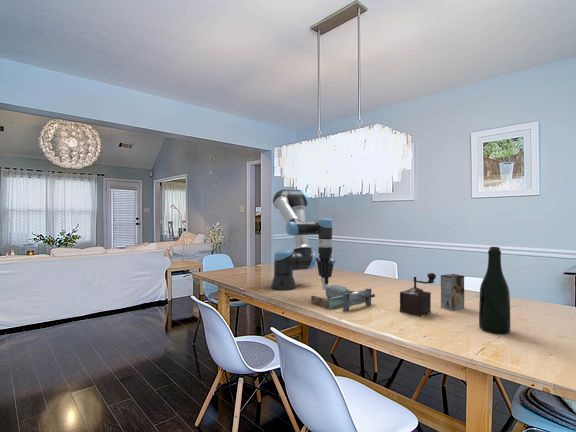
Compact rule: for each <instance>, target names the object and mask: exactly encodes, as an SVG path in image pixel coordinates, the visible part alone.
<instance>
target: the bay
mask: <svg viewBox="0 0 576 432" xmlns="http://www.w3.org/2000/svg"><path fill="white" fill-rule="evenodd" d="M348 290H349V289H348ZM349 292H350V293H353V292H355V291H354V290H349ZM310 298H311V304H313V305H317V306H319V307H323V308H325V309H329V310H333V309H337V308H343V296H338V297H333V298H329V299H325V298H323V297H320V296H316V295H311V297H310ZM363 302H365V298H361V299H357V300H352V301H349V306H350V305H354V304H359V303H363Z"/></svg>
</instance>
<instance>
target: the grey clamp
mask: <svg viewBox="0 0 576 432" xmlns="http://www.w3.org/2000/svg"><path fill="white" fill-rule="evenodd" d="M375 297H376V294H375V293H372V288H365V289H363V290H359V291H354V292H353V293H344V294H343V306H342V310H343V312H349V311H350V305H349V301H352V300H357V299H361V298H365V301H364V303H365V306H368V307H369V306H371V305H372V298H375Z"/></svg>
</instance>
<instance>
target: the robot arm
mask: <svg viewBox="0 0 576 432" xmlns="http://www.w3.org/2000/svg"><path fill="white" fill-rule="evenodd" d="M309 202H310V200H309V195H308V193H307V191H305V190H303V189H280V190H278V191H277V192H275V194H274V196H273V199H272V203H273V206H274V208H275V209H277V211H279V213H280V215H281V217H282V218H283V220H284V222H285V223H286V225H285V231H286V234H287V235H289V236H293V237H294V244H295V247H294V248H293V249H281V250H278V251H276V252H275V253H274V257H273V261H274V263H273V266H274V267H273V269H274V270H273V273H274V274H273V278H272V281H271V286H270V287H271V289H272V290H277V291H291V290H294V289H296V282H295V278H294V275H293V274H294V272H293V271H302V270H303V271H305V270H312V269H314V267H315V266H316V264H317V271H318V275H319V276H320V277H321V286H322V287H321V289H322V290H323V291H326V288H327V287H328V286H329V285H328V284H329V278H331V277H332V275H333V270H334V269H333V268H334V264H335V263H336V260H335V259H332V254H333V220H332V218H319V219H318V221H317V220H316V221H315V220H314V221H306V214H305V210H306V209H307V207H308V206H309ZM308 235H309V236H311V235H312V236H313V235H315V236H316V235H318V242H317V243H318V249H317V251H318V252H317V253H318V257H317V255H316V251H314V250H312V247H311V246H310V245H309V237H308Z"/></svg>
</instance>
